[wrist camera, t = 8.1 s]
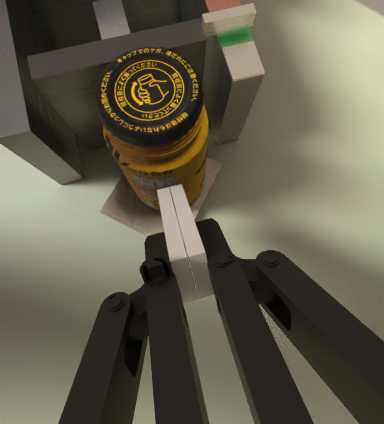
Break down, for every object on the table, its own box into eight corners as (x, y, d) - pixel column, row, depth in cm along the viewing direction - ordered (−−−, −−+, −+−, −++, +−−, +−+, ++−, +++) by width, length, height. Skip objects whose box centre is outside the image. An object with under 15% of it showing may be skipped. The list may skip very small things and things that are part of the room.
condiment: (222, 164, 25) (245, 60, 14) (178, 251, 24) (161, 216, 12) (149, 131, 26) (112, 7, 15) (101, 213, 24) (15, 145, 13)
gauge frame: (49, 188, 25) (-71, 116, 13) (16, 15, 28) (-105, -165, 17) (248, 137, 26) (298, 30, 15) (194, -23, 30) (199, -215, 18)
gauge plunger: (88, 149, 25) (24, 71, 15) (71, 75, 27) (2, -42, 17) (231, 114, 26) (259, 18, 16) (207, 43, 28) (220, -85, 18)
